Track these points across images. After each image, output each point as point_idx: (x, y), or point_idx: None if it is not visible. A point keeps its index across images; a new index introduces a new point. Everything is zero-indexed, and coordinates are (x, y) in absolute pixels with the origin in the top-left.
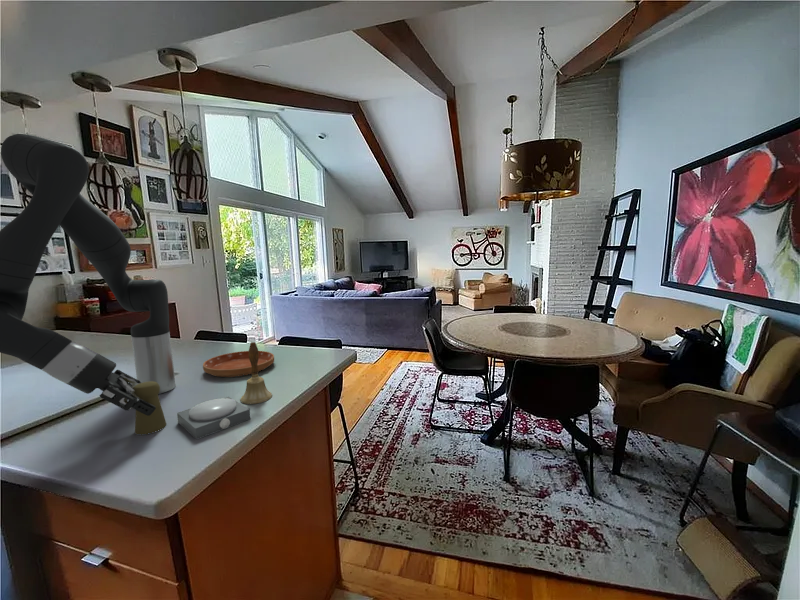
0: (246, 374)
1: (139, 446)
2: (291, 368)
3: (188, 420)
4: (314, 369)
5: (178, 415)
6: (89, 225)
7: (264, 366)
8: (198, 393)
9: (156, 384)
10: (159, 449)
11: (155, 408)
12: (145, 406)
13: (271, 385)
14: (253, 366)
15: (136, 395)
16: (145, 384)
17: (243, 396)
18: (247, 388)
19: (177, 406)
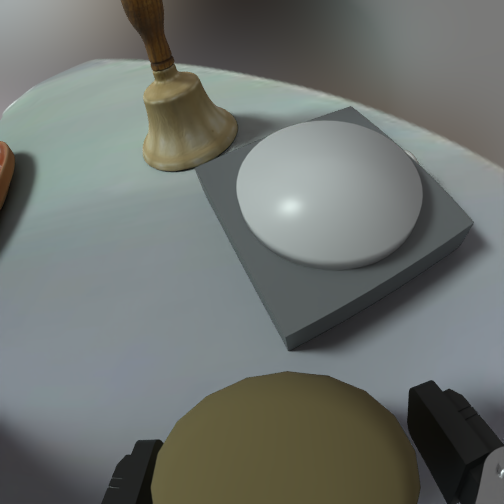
0: (5, 197)
1: None
2: (51, 119)
3: (404, 260)
4: (96, 82)
5: (303, 330)
6: None
7: (12, 154)
8: (26, 314)
9: (307, 384)
10: (500, 346)
11: (430, 381)
12: (477, 418)
13: (119, 126)
14: (163, 37)
15: (479, 498)
16: (344, 496)
17: (185, 149)
18: (186, 115)
19: (95, 380)
